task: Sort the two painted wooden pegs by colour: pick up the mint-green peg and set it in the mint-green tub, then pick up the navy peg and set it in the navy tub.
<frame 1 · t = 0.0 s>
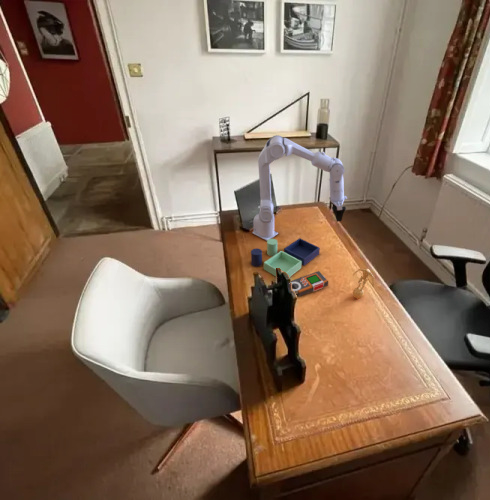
hand: (337, 216, 140), 11 cm above the table, tool pointing down, fingers open, 7 cm apart
navy tub: (301, 254, 134), on the table
figurine: (358, 296, 115), on the table
mint tub: (282, 268, 127), on the table
navy peg: (256, 263, 129), on the table
mint peg: (272, 253, 135), on the table
electronic device: (306, 287, 119), on the table
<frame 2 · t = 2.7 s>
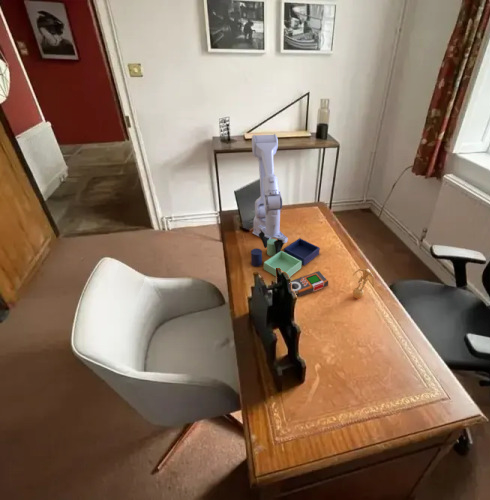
hand: (272, 250, 134), 2 cm above the table, tool pointing down, fingers open, 6 cm apart
nothing on the table moved.
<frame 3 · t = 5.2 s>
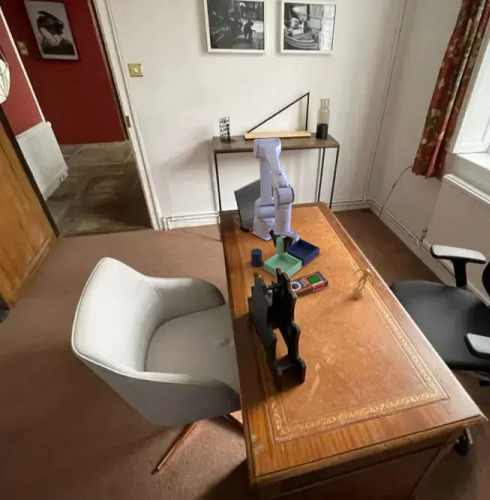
hand: (281, 248, 122), 9 cm above the table, tool pointing down, fingers closed on mint peg, 4 cm apart
mint peg: (281, 252, 123), point 7 cm above the table, touching gripper
everything else where it was.
when the fingers open (2 cm above the table, at t = 7.4 s): mint peg stays where it is, resting on mint tub.
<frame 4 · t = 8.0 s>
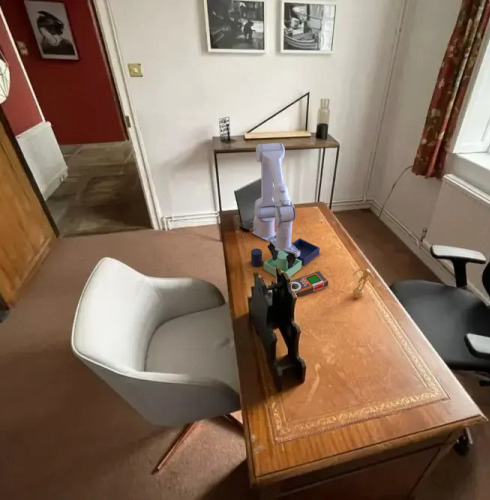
hand: (282, 263, 125), 3 cm above the table, tool pointing down, fingers open, 7 cm apart
mint peg: (282, 267, 126), resting on mint tub
everything else where it was.
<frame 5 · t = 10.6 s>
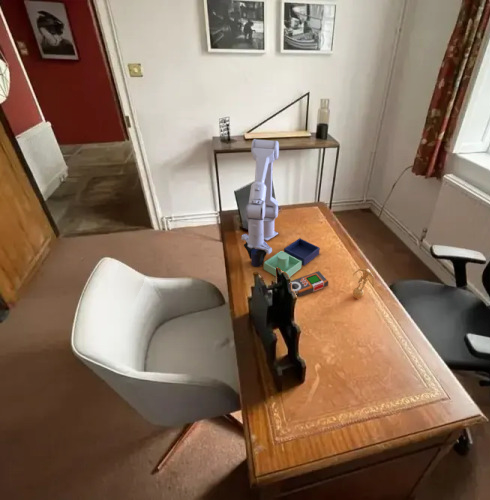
hand: (256, 260, 128), 2 cm above the table, tool pointing down, fingers closed on navy peg, 4 cm apart
navy peg: (256, 263, 129), on the table, touching gripper
everything else where it was.
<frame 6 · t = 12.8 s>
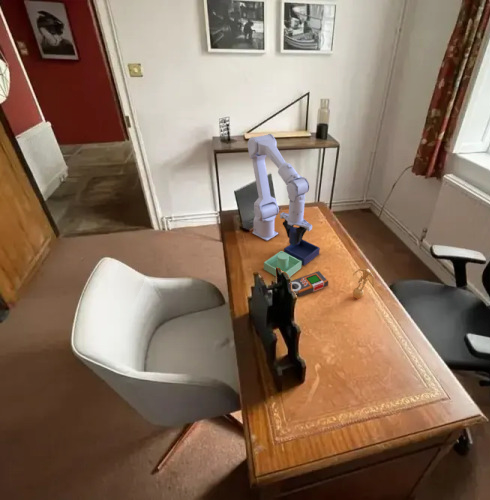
hand: (294, 238, 128), 9 cm above the table, tool pointing down, fingers closed on navy peg, 4 cm apart
navy peg: (294, 242, 129), point 7 cm above the table, touching gripper
everything else where it was.
when the fingers open (2 cm above the table, at t = 15.2 s): navy peg stays where it is, resting on navy tub.
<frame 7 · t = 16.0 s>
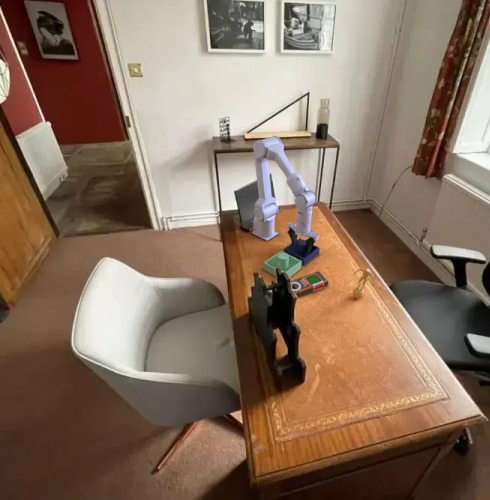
hand: (301, 247, 133), 3 cm above the table, tool pointing down, fingers open, 7 cm apart
navy peg: (301, 253, 134), resting on navy tub
everything else where it was.
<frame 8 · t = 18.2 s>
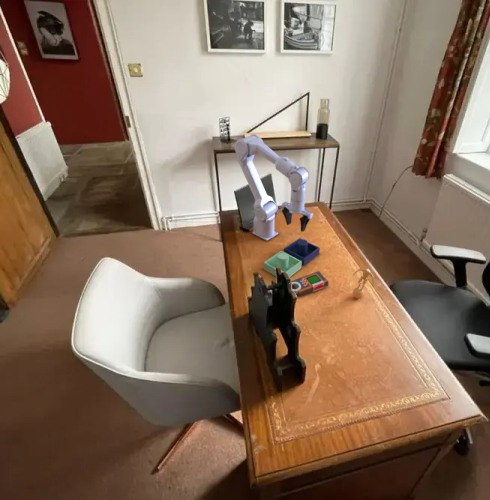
hand: (295, 227, 134), 9 cm above the table, tool pointing down, fingers open, 7 cm apart
nothing on the table moved.
at the end: mint peg inside the target area in the mint tub (0.0 cm from its centre), point 0.5 cm above the mint tub's base; navy peg inside the target area in the navy tub (0.1 cm from its centre), point 0.5 cm above the navy tub's base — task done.
